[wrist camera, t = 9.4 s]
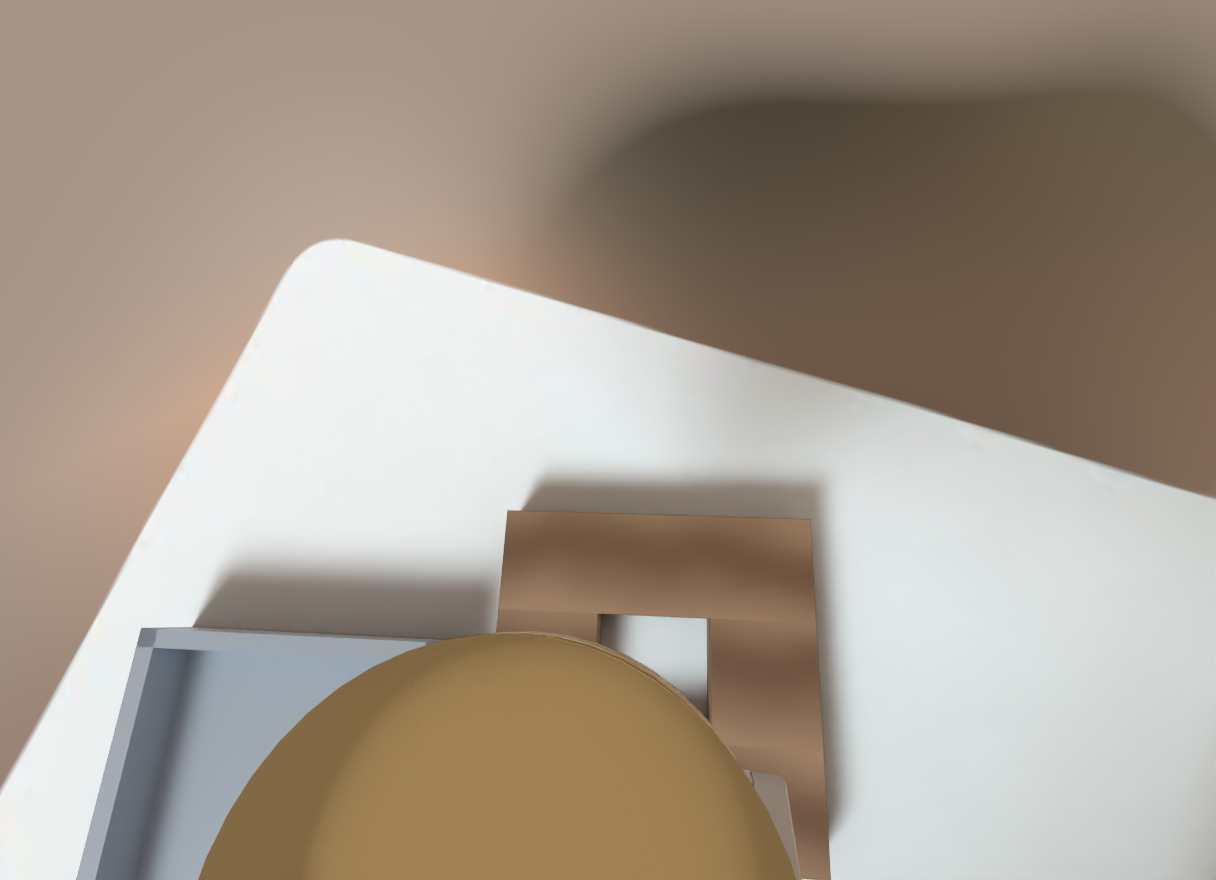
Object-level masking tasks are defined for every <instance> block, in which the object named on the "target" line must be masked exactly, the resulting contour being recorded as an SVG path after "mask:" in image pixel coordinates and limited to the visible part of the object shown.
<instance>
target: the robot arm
mask: <svg viewBox="0 0 1216 880" xmlns="http://www.w3.org/2000/svg"><path fill="white" fill-rule="evenodd" d="M743 770H744V769H743ZM744 772H745V774H746V775H747V777H748V778H749V780H750V782H751V783H752V785H753V787H754V788H755V790H756V792H757V793H758V795H759V797H760V798H761V800H762V802H763V803H764V805H765V807H766V808H767V810H768V812H769V814H770V816H771V818H772V820H773V823H774V825H775V827H776V829H777V831H778V834H779V836H780V838H781V840H782V842H783V844H784V847H785V849H786V851H787V853H788V856H789V859H790V862H791V865H792V868H793V871H794V874H795V877H796V880H801V875H800V869H799V862H798V856H797V849H796V843H795V837H794V830H793V824H792V817H791V811H790V805H789V798H788V792H787V785H786V782H785V780H784V778H783V776H782V775H781V774H772V773H763V772H755V771H749V770H744Z"/></svg>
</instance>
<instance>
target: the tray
mask: <svg viewBox="0 0 1216 880" xmlns="http://www.w3.org/2000/svg"><path fill="white" fill-rule="evenodd" d="M442 640H447V639H426V638H406V637H385V636H365V635H344V634H323V633H303V632H282V631H262V630H241V629H221V628H200V627H171V628H141V631H140V635H139V639H138V643H137V647H136V651H135V654H134V658H133V662H132V666H131V670H130V674H129V678H128V682H127V685H126V689H125V693H124V697H123V701H122V705H121V709H120V713H119V716H118V720H117V724H116V728H115V732H114V736H113V740H112V743H111V747H110V751H109V755H108V759H107V763H106V767H105V771H104V774H103V778H102V782H101V786H100V790H99V794H98V798H97V802H96V805H95V809H94V813H93V817H92V821H91V825H90V829H89V833H88V836H87V840H86V844H85V848H84V852H83V856H82V860H81V863H80V867H79V871H78V875H77V879H76V880H198V878H199V876H200V873H201V870H202V868H203V865H204V862H205V860H206V857H207V855H208V853H209V851H210V849H211V847H212V845H213V843H214V841H215V839H216V837H217V835H218V833H219V831H220V828H221V826H222V824H223V822H224V820H225V818H226V816H227V814H228V813H229V811H230V810H231V808H232V806H233V805H234V803H235V802H236V800H237V798H238V797H239V795H240V794H241V792H242V791H243V789H244V787H245V786H246V784H247V783H248V781H249V779H250V778H251V776H252V775H253V774H254V772H255V771H256V770H257V769H258V767H259V766H260V765H261V764H262V762H263V761H264V760H265V759H266V757H267V756H268V755H269V754H270V752H271V751H272V750H273V748H274V747H275V746H276V745H277V743H278V742H279V741H280V740H281V739H282V738H283V737H284V736H285V735H286V734H287V733H288V732H289V731H290V730H291V729H292V728H293V727H294V726H295V725H296V724H297V723H298V722H299V721H300V720H301V719H302V718H303V717H304V716H305V715H306V714H307V713H308V712H309V711H310V710H312V709H313V708H314V707H315V706H317V705H318V704H319V703H320V702H322V701H323V700H324V699H325V698H327V697H328V696H329V695H330V694H332V693H333V692H334V691H335V690H337V689H338V688H339V687H341V686H342V685H344V684H346V683H347V682H349V681H350V680H352V679H354V678H355V677H357V676H358V675H360V674H362V673H363V672H365V671H367V670H368V669H370V668H371V667H373V666H375V665H378V664H380V663H382V662H384V661H386V660H389V659H391V658H393V657H395V656H397V655H400V654H402V653H404V652H406V651H409V650H412V649H416V648H419V647H422V646H425V645H429V644H432V643H435V642H438V641H442Z"/></svg>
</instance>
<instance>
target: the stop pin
mask: <svg viewBox="0 0 1216 880" xmlns="http://www.w3.org/2000/svg"><path fill="white" fill-rule="evenodd" d="M198 880H796V877H795V874H794V871H793V868H792V865H791V862H790V859H789V856H788V853H787V851H786V849H785V847H784V844H783V842H782V840H781V838H780V836H779V834H778V831H777V829H776V827H775V825H774V823H773V820H772V818H771V816H770V814H769V812H768V810H767V808H766V807H765V805H764V803H763V802H762V800H761V798H760V797H759V795H758V793H757V792H756V790H755V788H754V787H753V785H752V783H751V782H750V780H749V778H748V777H747V775H746V774H745V772H744V770H743V769H742V767H741V766H740V764H739V762H738V761H737V759H736V758H735V756H734V755H733V753H732V751H731V750H730V748H729V747H728V745H727V744H726V743H725V741H724V740H723V739H722V737H721V736H720V735H719V734H718V732H717V731H716V730H715V728H714V727H713V726H712V725H711V723H710V722H709V721H708V719H707V718H706V717H705V716H704V715H703V714H702V713H701V712H700V711H699V710H698V709H697V708H696V707H695V706H694V705H693V704H692V703H691V702H690V701H689V700H688V699H687V698H686V697H685V696H684V695H683V694H682V693H681V692H680V691H679V690H678V689H676V688H675V687H674V686H673V685H671V684H670V683H669V682H667V681H666V680H665V679H663V678H662V677H661V676H660V675H658V674H657V673H656V672H654V671H653V670H651V669H649V668H648V667H646V666H644V665H643V664H641V663H639V662H637V661H636V660H634V659H632V658H631V657H629V656H627V655H625V654H623V653H620V652H618V651H616V650H613V649H611V648H608V647H606V646H603V645H601V644H599V643H596V642H592V641H588V640H584V639H581V638H577V637H573V636H569V635H563V634H555V633H546V632H537V631H532V632H501V633H489V634H478V635H472V636H466V637H460V638H453V639H447V640H442V641H438V642H435V643H432V644H429V645H425V646H422V647H419V648H416V649H412V650H409V651H406V652H404V653H402V654H400V655H397V656H395V657H393V658H391V659H389V660H386V661H384V662H382V663H380V664H378V665H375V666H373V667H371V668H370V669H368V670H367V671H365V672H363V673H362V674H360V675H358V676H357V677H355V678H354V679H352V680H350V681H349V682H347V683H346V684H344V685H342V686H341V687H339V688H338V689H337V690H335V691H334V692H333V693H332V694H330V695H329V696H328V697H327V698H325V699H324V700H323V701H322V702H320V703H319V704H318V705H317V706H315V707H314V708H313V709H312V710H310V711H309V712H308V713H307V714H306V715H305V716H304V717H303V718H302V719H301V720H300V721H299V722H298V723H297V724H296V725H295V726H294V727H293V728H292V729H291V730H290V731H289V732H288V733H287V734H286V735H285V736H284V737H283V738H282V739H281V740H280V741H279V742H278V743H277V745H276V746H275V747H274V748H273V750H272V751H271V752H270V754H269V755H268V756H267V757H266V759H265V760H264V761H263V762H262V764H261V765H260V766H259V767H258V769H257V770H256V771H255V772H254V774H253V775H252V776H251V778H250V779H249V781H248V783H247V784H246V786H245V787H244V789H243V791H242V792H241V794H240V795H239V797H238V798H237V800H236V802H235V803H234V805H233V806H232V808H231V810H230V811H229V813H228V814H227V816H226V818H225V820H224V822H223V824H222V826H221V828H220V831H219V833H218V835H217V837H216V839H215V841H214V843H213V845H212V847H211V849H210V851H209V853H208V855H207V857H206V860H205V862H204V865H203V868H202V870H201V873H200V876H199V878H198Z"/></svg>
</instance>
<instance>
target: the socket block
mask: <svg viewBox="0 0 1216 880" xmlns="http://www.w3.org/2000/svg"><path fill="white" fill-rule="evenodd" d="M601 614H618V615H641V616H664V617H687V618H707V716H708V721H709V722H710V723H711V725H712V726H713V727H714V728H715V730H716V731H717V732H718V734H719V735H720V736H721V737H722V739H723V740H724V741H725V743H726V744H727V745H728V747H729V748H730V750H731V751H732V753H733V755H734V756H735V758H736V759H737V761H738V762H739V764H740V766H741V767H742V769H744V770H749V771H755V772H763V773H772V774H781V775H782V776H783V778H784V780H785V782H786V785H787V792H788V798H789V805H790V811H791V817H792V824H793V830H794V837H795V843H796V849H797V856H798V862H799V869H800V875H801V879H814V880H831V874H830V857H829V839H828V822H827V804H826V787H825V769H824V751H823V734H822V716H821V699H820V681H819V664H818V646H817V629H816V611H815V594H814V576H813V559H812V541H811V524H810V519H779V518H746V517H712V516H679V515H645V514H612V513H578V512H545V511H511V510H508V511H507V522H506V533H505V544H504V555H503V565H502V576H501V587H500V598H499V609H498V620H497V630H496V633H501V632H532V631H537V632H546V633H555V634H563V635H569V636H573V637H577V638H581V639H584V640H588V641H592V642H596V643H599V644H600V632H601Z"/></svg>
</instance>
